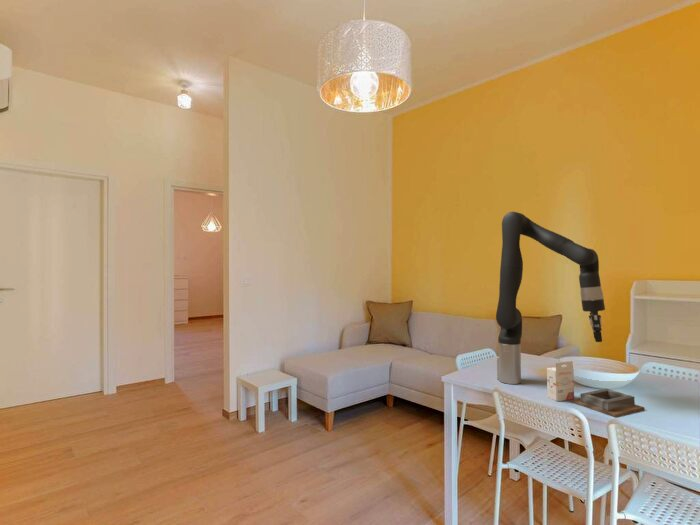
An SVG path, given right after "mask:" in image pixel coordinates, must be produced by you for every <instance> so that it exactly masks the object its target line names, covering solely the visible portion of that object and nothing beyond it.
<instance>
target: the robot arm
mask: <svg viewBox="0 0 700 525" xmlns="http://www.w3.org/2000/svg"><path fill="white" fill-rule="evenodd" d="M501 234H502V235H501V239H502V244H501V246H502V247H501V258H500V266H499V267H500V269H499V288H498V290H499V294H498V302H497V308H496V313H495V319H496V323H497V324H498V326H499V327H500V331H499V335H498V340H497V341H498V344H497V345H498V357H497V358H496V369H497V370H496V374H497V375H496V377H497V378H496V379H497V380H498V381H499V382H501V383H503V384H509V385H518V384H521V383H522V366H521V365H522V358H521V357H522V355H521V353H522V352H521V349H522V348H521V342H522V340H521V339H522V335H523V316H522V315H523V314H522V313H521V311H520V309H518V308H517V296H518V292H519V289H520V286H521V284H522V280H523V271H524V270H523V269H524V268H523V267H524V261H523V255H522V252H521V246H520V242H521V241H520V240H521V236H525V237H528V238H531V239H532V240H534V241H536V242H538V243H540V244H541V245H542V246H544V247H545V248H547V249H549V250H550V251H553V252H555V253H557V254H558V255H561V256H563V257H565V258H567V259H568V260H570V261H572V262H574V263H575V264H577V265H578V266H579V276H578V281H579V289H580V292H579V293H580V300H581V306H582V311H583V312H589V315H588V320H589V322H590V326H591V329H592V334H593V339H594V341H595V343H601V342H603V337H602V331H603V330H602V326H603V325H602V316H601V315H600V314H599V312H602V311H605V310H606V307H605V299H604V294H603V293H604V292H603V289H602V285H601V284H602V283H601V278H600V271H599V270H600V262H599V256H598V253H597V252H596V251H595V249H592V248H588V247H585V246H583V245H580V244H578V243H576V242H574V241H573V240H572V239H570V238H568V237H566V236H564V235H561V234H559V233H557V232H555V231H553V230H550V229H547V228H546V227H543V226H541V225H539V224H537V223H536V222H534V221H533V220H531V219H530V218H528V217H527V216H526V215H525V214H524V213H520V212H517V211H509V212H507V213H506V214H504V216H503V218H502V221H501Z"/></svg>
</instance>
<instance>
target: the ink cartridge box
mask: <svg viewBox="0 0 700 525" xmlns="http://www.w3.org/2000/svg"><path fill="white" fill-rule="evenodd" d="M564 365H565V366H564ZM554 366H555V367H546V380H547V381H546V386H547V398H548V399H551V400H552V401H555V402H562V401H568V400H569V401H572V400H573V399H575V375H574V365H573V361H572V360H570V361H560V362H555V364H554Z"/></svg>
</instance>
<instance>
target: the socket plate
mask: <svg viewBox="0 0 700 525" xmlns="http://www.w3.org/2000/svg"><path fill="white" fill-rule="evenodd" d="M571 402H572V403H573V404H576V405H579V406H582V407H584V408H587V409H590V410H593V411H596V412H599V413H602V414H603V415H607V416H610V417H613V418H617V417H621V416H625V415H631V414H634V413H638V412H642V411H645V407H644V406H641V405H639V404H635V403H636V402H635V396H633V395H630V394H626V393H623V392H619V391H617V390H616V391H615V390H612V389H608V388H603V389H596V390H592V391H588V392H581V393H580V394H579V398H574V399H571Z"/></svg>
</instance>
